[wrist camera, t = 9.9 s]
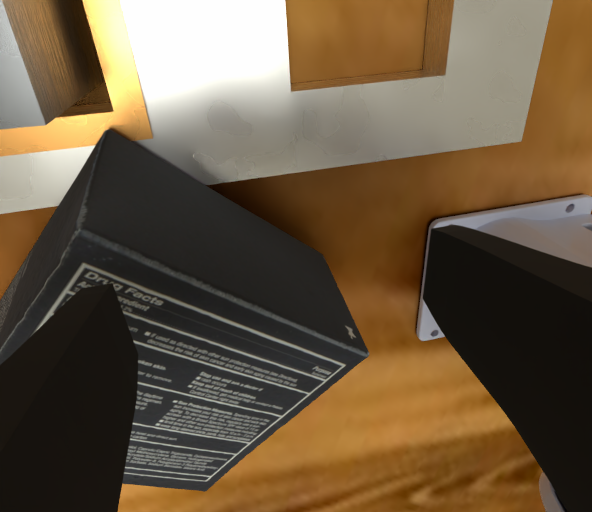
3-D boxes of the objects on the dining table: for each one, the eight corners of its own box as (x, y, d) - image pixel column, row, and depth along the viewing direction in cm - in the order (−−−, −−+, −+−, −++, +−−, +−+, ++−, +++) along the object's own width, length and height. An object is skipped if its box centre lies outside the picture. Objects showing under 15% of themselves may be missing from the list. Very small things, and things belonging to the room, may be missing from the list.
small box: (200, 373, 23) (328, 249, 19) (208, 496, 18) (380, 363, 14) (-14, 311, 17) (110, 115, 13) (-86, 470, 12) (75, 232, 8)
